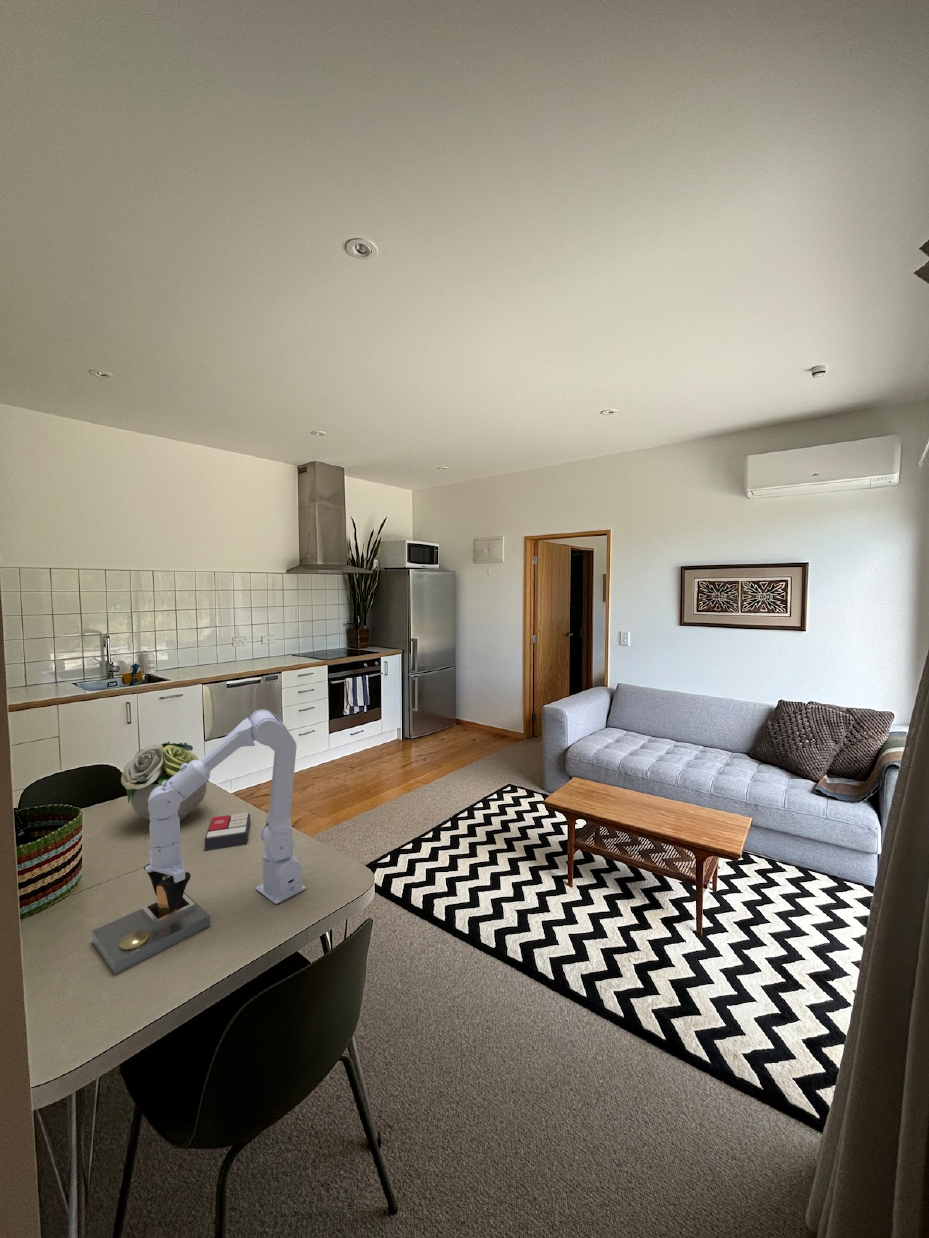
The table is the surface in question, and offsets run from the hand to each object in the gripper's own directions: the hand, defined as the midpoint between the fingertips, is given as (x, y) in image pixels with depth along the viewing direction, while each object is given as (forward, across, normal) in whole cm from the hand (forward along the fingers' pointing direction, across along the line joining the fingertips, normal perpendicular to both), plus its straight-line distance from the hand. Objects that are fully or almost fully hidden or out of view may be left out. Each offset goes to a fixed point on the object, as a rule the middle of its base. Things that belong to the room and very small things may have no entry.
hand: (168, 900), depth 113 cm
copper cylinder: (+4, 0, 0) cm, 4 cm away
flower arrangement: (+5, -52, +20) cm, 56 cm away
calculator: (+5, -28, +27) cm, 39 cm away
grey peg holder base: (+5, +2, -4) cm, 6 cm away
